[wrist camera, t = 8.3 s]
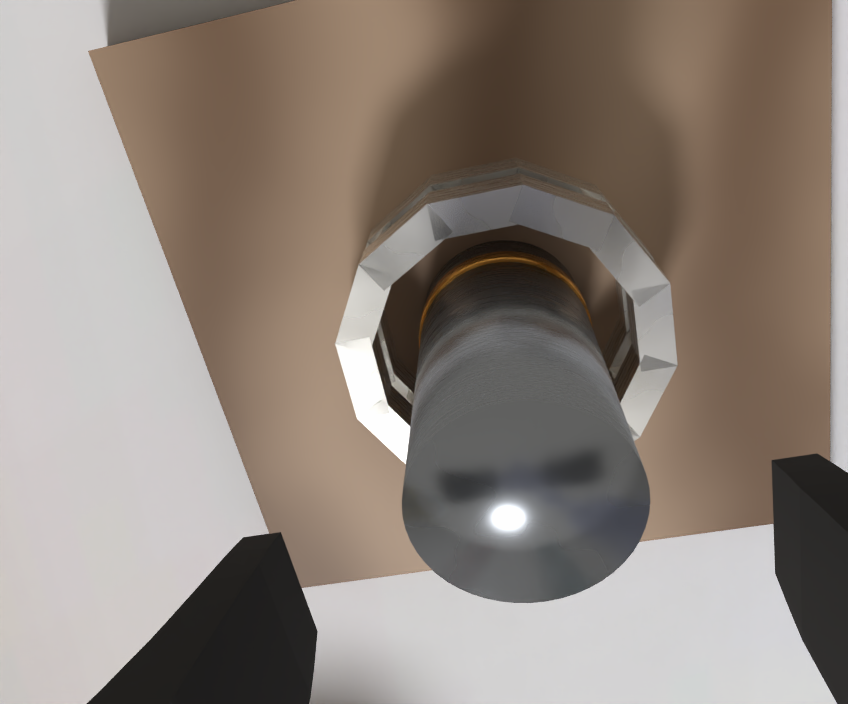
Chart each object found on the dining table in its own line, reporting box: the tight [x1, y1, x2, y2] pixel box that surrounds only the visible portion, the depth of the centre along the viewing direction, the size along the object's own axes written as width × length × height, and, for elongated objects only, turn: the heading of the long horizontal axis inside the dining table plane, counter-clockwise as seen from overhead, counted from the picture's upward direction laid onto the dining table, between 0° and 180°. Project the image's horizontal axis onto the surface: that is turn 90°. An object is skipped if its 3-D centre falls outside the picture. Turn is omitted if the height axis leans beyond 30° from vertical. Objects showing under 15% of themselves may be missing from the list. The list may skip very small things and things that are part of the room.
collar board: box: [88, 0, 832, 588], centre depth 20 cm, size 16×16×1 cm
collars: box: [335, 158, 678, 464], centre depth 19 cm, size 7×7×3 cm
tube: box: [402, 240, 650, 603], centre depth 16 cm, size 4×4×8 cm
